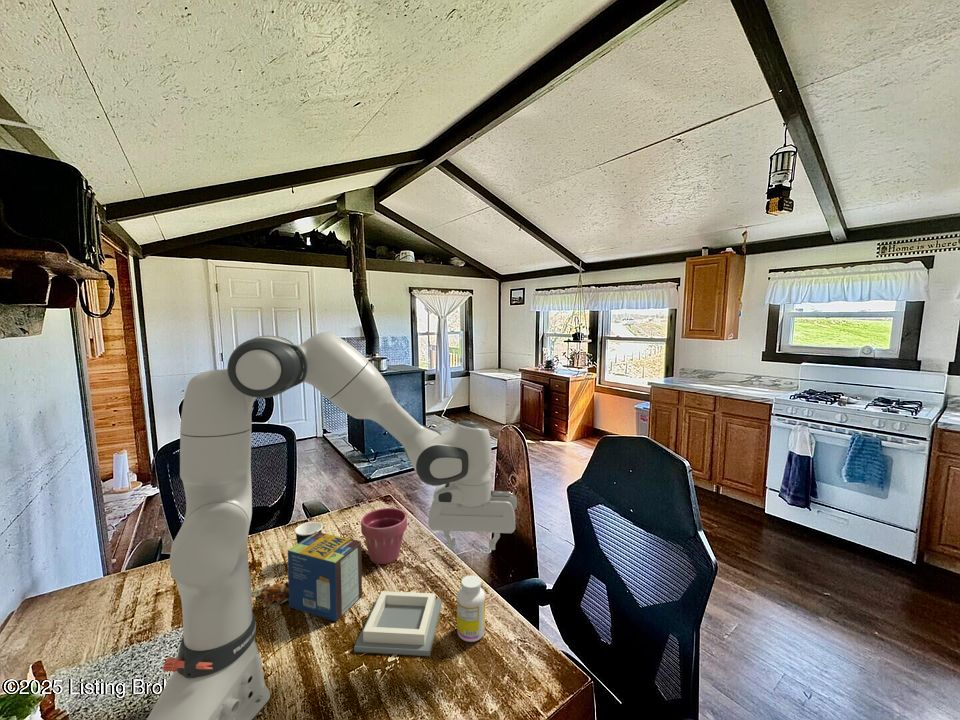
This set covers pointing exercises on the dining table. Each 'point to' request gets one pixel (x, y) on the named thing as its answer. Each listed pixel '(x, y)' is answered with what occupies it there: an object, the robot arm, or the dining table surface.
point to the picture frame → (400, 624)
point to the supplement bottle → (471, 609)
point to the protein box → (325, 575)
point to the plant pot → (384, 533)
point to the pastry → (273, 593)
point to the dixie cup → (307, 530)
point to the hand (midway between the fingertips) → (472, 547)
